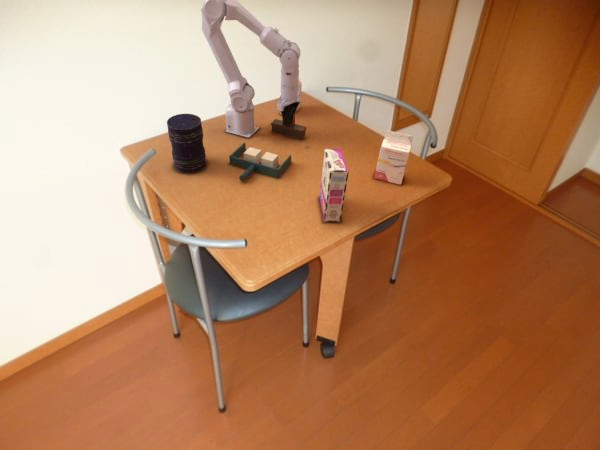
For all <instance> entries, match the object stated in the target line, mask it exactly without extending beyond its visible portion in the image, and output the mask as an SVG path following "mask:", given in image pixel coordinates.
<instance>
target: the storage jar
mask: <svg viewBox="0 0 600 450" xmlns="http://www.w3.org/2000/svg"><path fill="white" fill-rule="evenodd" d="M166 125H167V134H168V139H169V142H170V143H171V148H172V149H171V156H172V161H173V164H174V168H175V170H176V171H177V172H178V173H181V174H185V175H190V174H191V175H192V174H196V173H197V174H198V173H199V172H202V171H203V170H204V169H206V168H207V155H206V149H205V146H204V141H203V140H204V131H203V129H204V128H203V126H202V125H203V124H202V119H201V117H200V116H198V115H196V114H193V113H179V114H174V115H172V116H170V117H169V118H168V119H167V121H166Z"/></svg>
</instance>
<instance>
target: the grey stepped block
mask: <svg viewBox="0 0 600 450" xmlns="http://www.w3.org/2000/svg"><path fill="white" fill-rule="evenodd" d="M270 126H271V133H274V134H278V135H282V136H286V137H290V138H293V139H297V140H303V139H304V138H305V136H306V131H307V126H305V125H302V124H297V123H296V112H295V113H294V112H293V113H292V118H291V123H290V125H288V124H284V121H283V119H282V120H281V119H277V118H275V119H273V120H272V121H271V122H270Z"/></svg>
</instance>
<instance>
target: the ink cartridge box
mask: <svg viewBox="0 0 600 450" xmlns="http://www.w3.org/2000/svg"><path fill="white" fill-rule="evenodd" d="M398 136H399V138H398ZM413 139H414V136H413V135H411V134H406V133H401V132H397V131H392V130H388V129H387V130H386V131H385V134H384V138H383V140H382V143H381V146H380V150H379V153H378V159H377V163H376V168H375V173H374V179H376V180H379V181H383V182H388V183H392V184H397V185H402V183H403V180H404V176H405V172H406V169H407V165H408V161H409V158H410V153H411V149H412V146H413V145H412V142H413Z"/></svg>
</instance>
